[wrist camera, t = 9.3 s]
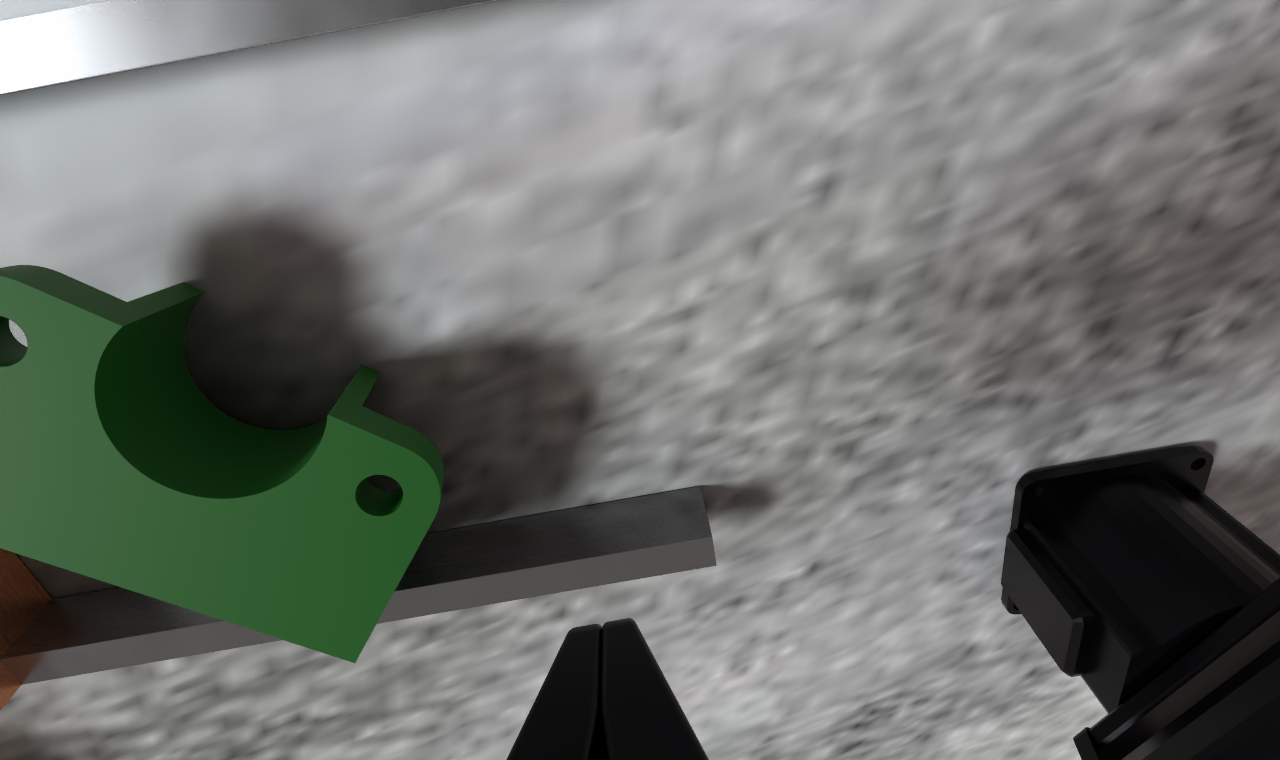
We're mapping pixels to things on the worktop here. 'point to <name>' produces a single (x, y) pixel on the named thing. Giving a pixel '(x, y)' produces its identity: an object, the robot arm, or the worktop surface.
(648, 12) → the worktop surface
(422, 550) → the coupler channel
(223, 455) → the clamp
